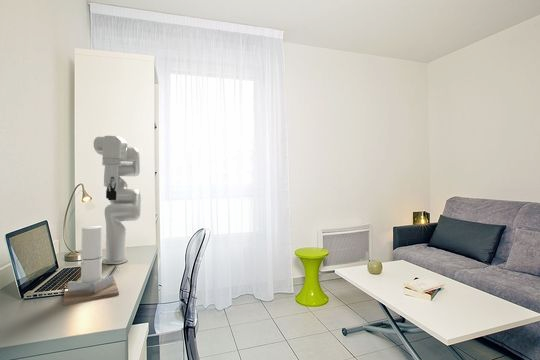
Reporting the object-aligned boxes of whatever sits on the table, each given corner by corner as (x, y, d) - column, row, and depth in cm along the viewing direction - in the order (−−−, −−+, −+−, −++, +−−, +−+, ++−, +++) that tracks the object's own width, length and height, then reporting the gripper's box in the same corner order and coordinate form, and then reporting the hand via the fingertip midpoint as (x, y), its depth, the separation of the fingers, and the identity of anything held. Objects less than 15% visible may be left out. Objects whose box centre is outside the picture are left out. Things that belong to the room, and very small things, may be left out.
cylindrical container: (91, 292, 114) (92, 229, 114) (76, 290, 116) (77, 228, 115) (105, 285, 121) (106, 226, 121) (90, 283, 123) (91, 225, 122)
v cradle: (64, 287, 121) (65, 274, 121) (113, 279, 132) (113, 268, 132) (63, 305, 105) (63, 291, 105) (118, 294, 115) (119, 282, 115)
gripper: (100, 162, 139) (100, 197, 140) (104, 161, 125) (103, 201, 125) (118, 163, 144) (117, 197, 144) (123, 162, 129) (122, 200, 130)
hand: (111, 199), depth 135 cm, fingers open, 9 cm apart
